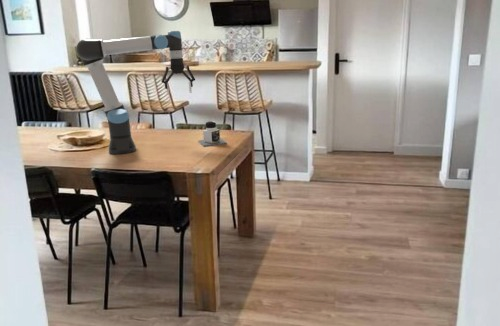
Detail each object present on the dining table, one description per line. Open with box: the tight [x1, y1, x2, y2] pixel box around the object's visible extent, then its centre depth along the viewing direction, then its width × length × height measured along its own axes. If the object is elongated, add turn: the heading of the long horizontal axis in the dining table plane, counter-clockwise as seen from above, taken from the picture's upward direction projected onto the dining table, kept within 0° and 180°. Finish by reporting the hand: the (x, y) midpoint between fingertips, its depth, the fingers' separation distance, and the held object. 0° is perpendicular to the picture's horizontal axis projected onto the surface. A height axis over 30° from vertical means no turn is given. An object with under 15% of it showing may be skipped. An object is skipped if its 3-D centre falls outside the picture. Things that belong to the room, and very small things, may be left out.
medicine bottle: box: [202, 120, 221, 143], centre depth 269 cm, size 7×7×12 cm
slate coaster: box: [197, 137, 227, 148], centre depth 271 cm, size 14×14×1 cm
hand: (179, 93), depth 275 cm, fingers open, 13 cm apart
